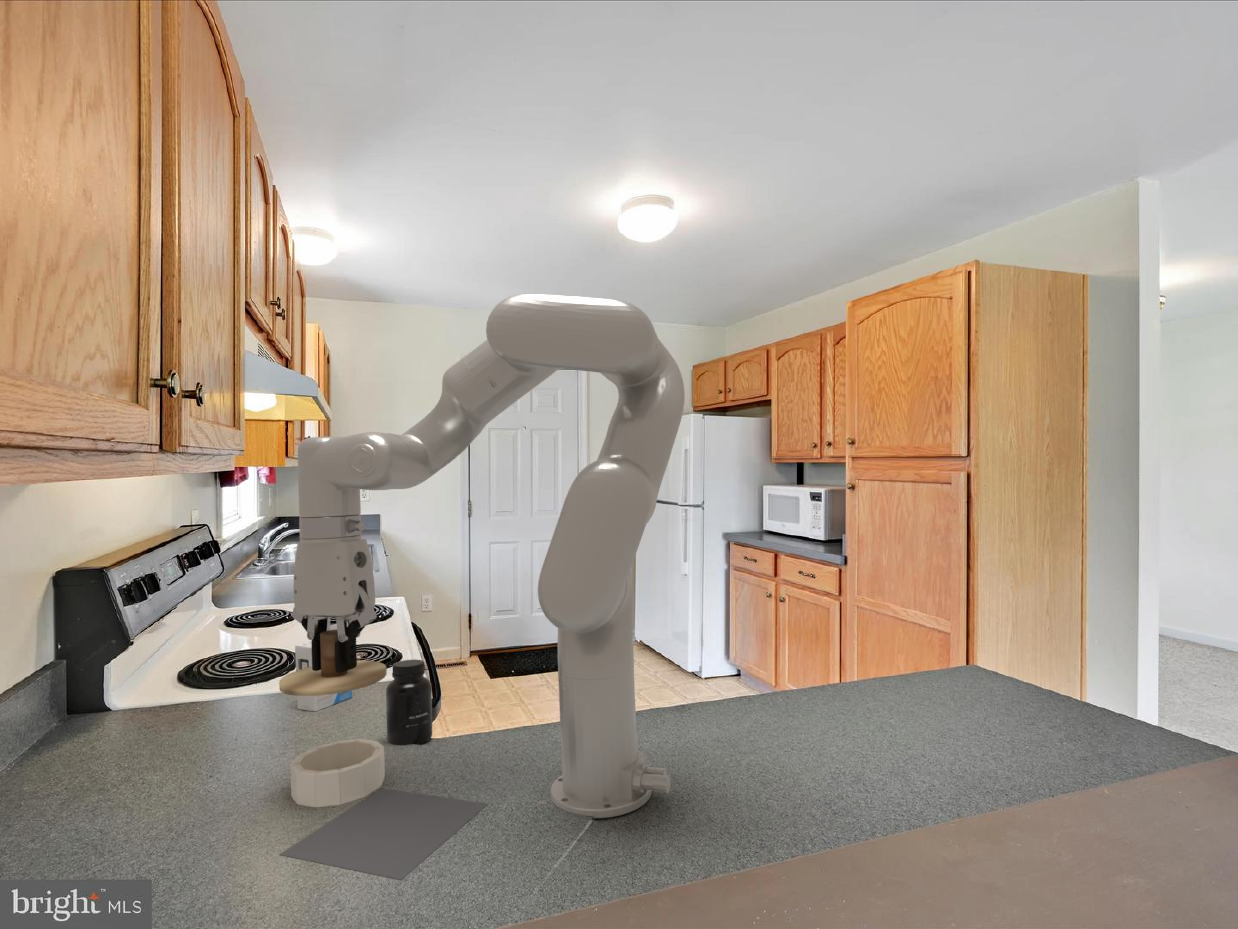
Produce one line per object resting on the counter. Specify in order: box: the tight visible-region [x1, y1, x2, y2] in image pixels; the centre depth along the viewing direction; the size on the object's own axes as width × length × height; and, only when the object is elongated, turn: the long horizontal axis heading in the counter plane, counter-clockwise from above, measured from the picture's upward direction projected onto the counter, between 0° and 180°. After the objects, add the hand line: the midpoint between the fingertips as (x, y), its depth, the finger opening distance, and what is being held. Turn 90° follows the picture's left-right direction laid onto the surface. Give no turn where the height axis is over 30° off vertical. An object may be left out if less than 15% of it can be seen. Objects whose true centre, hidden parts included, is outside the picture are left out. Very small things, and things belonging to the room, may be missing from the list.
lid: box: [278, 630, 388, 697], centre depth 88 cm, size 13×13×6 cm
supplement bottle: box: [385, 659, 433, 746], centre depth 104 cm, size 7×7×12 cm
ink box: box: [294, 621, 353, 712], centre depth 124 cm, size 8×5×15 cm, turn 152°
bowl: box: [289, 738, 386, 808], centre depth 88 cm, size 11×11×4 cm
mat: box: [278, 787, 489, 881], centre depth 76 cm, size 16×16×1 cm
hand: (334, 667), depth 88 cm, fingers closed on lid, 3 cm apart
